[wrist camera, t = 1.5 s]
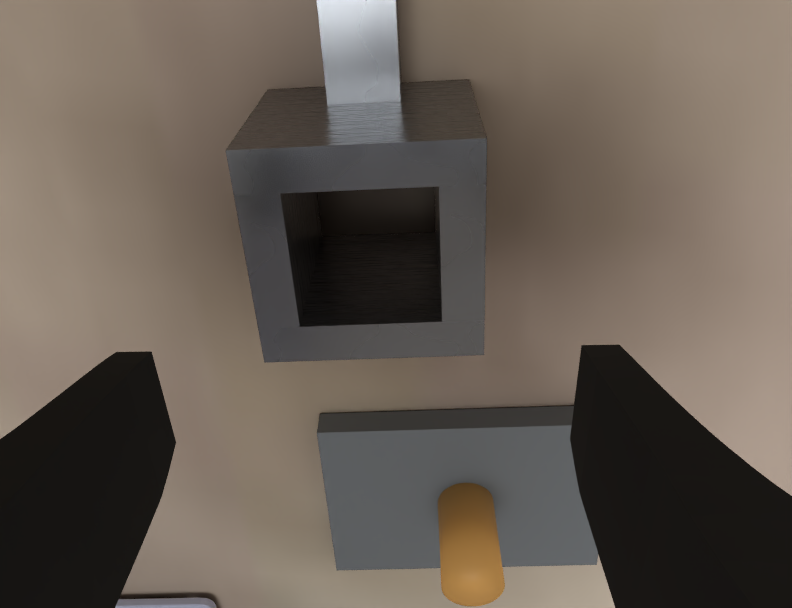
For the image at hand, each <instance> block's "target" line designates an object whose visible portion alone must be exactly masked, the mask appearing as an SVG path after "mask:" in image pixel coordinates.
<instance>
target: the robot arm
mask: <svg viewBox="0 0 792 608" xmlns="http://www.w3.org/2000/svg"><path fill="white" fill-rule="evenodd" d="M570 442H571V448H572V454H573V460H574V466H575V471H576V477H577V482H578V487H579V493H580V496H581V499H582V503H583V506H584V509H585V512H586V516H587V519H588V522H589V525H590V529H591V532H592V535H593V538H594V541H595V545H596V548H597V551H598V554H599V557H600V560H601V563H602V567H603V570H604V573H605V576H606V579H607V582H608V586H609V589H610V592H611V595H612V598H613V601H614V605H615V608H792V496H791V495H789V494H788V493H786V492H785V491H784V490H782V489H781V488H779V487H778V486H777V485H775V484H774V483H772V482H771V481H770V480H768V479H767V478H766V477H764V476H763V475H762V474H760V473H759V472H758V471H757V470H755V469H754V468H753V467H751V466H750V465H749V464H748V463H747V462H745V461H744V460H743V459H742V458H740V457H739V456H738V455H737V454H736V453H734V452H733V451H732V450H731V449H729V448H728V447H727V446H726V445H725V444H723V443H722V442H721V441H720V440H719V439H717V438H716V437H715V436H714V435H713V434H712V433H711V432H709V431H708V430H707V429H706V428H705V427H704V426H703V425H702V424H700V423H699V422H698V421H697V420H696V419H695V418H694V417H693V416H692V415H691V414H689V413H688V412H687V411H686V410H685V409H684V408H683V407H682V406H681V405H680V404H679V403H678V402H677V401H676V400H675V399H674V398H672V397H671V396H670V395H669V394H668V393H667V392H666V391H665V390H664V389H663V388H662V387H661V386H660V385H659V384H658V383H657V382H656V381H655V380H654V379H653V378H652V377H651V376H650V375H649V374H648V373H647V372H646V371H645V370H644V369H643V368H642V367H641V366H640V365H639V364H638V363H637V362H636V361H635V360H634V359H633V358H632V357H631V356H630V355H629V354H628V353H627V352H626V351H625V350H624V349H623V348H622V347H621V346H620V345H582V347H581V355H580V363H579V371H578V379H577V387H576V395H575V402H574V410H573V418H572V426H571V434H570ZM175 444H176V441H175V437H174V433H173V430H172V426H171V422H170V418H169V415H168V411H167V407H166V404H165V400H164V396H163V392H162V389H161V385H160V381H159V378H158V374H157V370H156V367H155V363H154V359H153V355H152V352H116V353H114V354H113V355H111V356H110V357H108V358H107V359H105V360H104V361H103V362H101V363H100V364H99V365H97V366H96V367H95V368H93V369H92V370H91V371H89V372H88V373H87V374H85V375H84V376H83V377H82V378H80V379H79V380H78V381H76V382H75V383H74V384H73V385H71V386H70V387H69V388H68V389H66V390H65V391H64V392H62V393H61V394H60V395H59V396H57V397H56V398H55V399H53V400H52V401H51V402H49V403H48V404H47V405H46V406H44V407H43V408H42V409H40V410H39V411H38V412H36V413H35V414H34V415H33V416H31V417H30V418H29V419H27V420H26V421H25V422H23V423H22V424H21V425H19V426H18V427H17V428H15V429H14V430H13V431H11V432H10V433H8V434H7V435H6V436H4V437H3V438H1V439H0V608H217V607H216V605H215V603H214V602H213V601H212V600H211V599H208V598H155V599H119V597H120V595H121V593H122V590H123V588H124V585H125V583H126V581H127V578H128V576H129V574H130V571H131V569H132V567H133V564H134V562H135V559H136V557H137V555H138V552H139V550H140V548H141V545H142V543H143V541H144V538H145V536H146V533H147V531H148V529H149V526H150V524H151V521H152V519H153V516H154V514H155V512H156V509H157V507H158V504H159V502H160V499H161V497H162V494H163V490H164V486H165V483H166V479H167V476H168V472H169V468H170V464H171V460H172V456H173V452H174V448H175Z"/></svg>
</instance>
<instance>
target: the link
mask: <svg viewBox="0 0 792 608" xmlns="http://www.w3.org/2000/svg"><path fill="white" fill-rule="evenodd" d="M317 8H318V18H319V28H320V37H321V47H322V57H323V66H324V76H325V86H326V87H312V88H292V89H272V90H267V91H266V93H265V94H264V96H263V97H262V98H261V100H260V101H259V103H258V104H257V106H256V107H255V109H254V110H253V111H252V113H251V114H250V116H249V117H248V119H247V120H246V122H245V123H244V125H243V126H242V127H241V129H240V130H239V132H238V133H237V135H236V136H235V138H234V139H233V141H232V142H231V143H230V145H229V146H228V148H227V149H226V155H227V160H228V166H229V171H230V177H231V182H232V188H233V193H234V198H235V204H236V209H237V215H238V220H239V226H240V231H241V237H242V242H243V248H244V253H245V259H246V264H247V270H248V275H249V280H250V286H251V291H252V297H253V302H254V308H255V313H256V319H257V324H258V330H259V335H260V341H261V346H262V352H263V357H264V362H291V361H320V360H350V359H379V358H408V357H438V356H467V355H484V316H485V242H486V168H487V137H486V134H485V130H484V127H483V124H482V120H481V117H480V114H479V111H478V107H477V104H476V101H475V97H474V94H473V91H472V88H471V84H470V81H469V80H451V81H431V82H411V83H401V65H400V44H399V24H398V3H397V0H317ZM417 187H434V197H435V232H423V233H398V234H374V235H350V236H326V237H322V232H321V224H320V215H319V207H318V198H317V192H326V191H349V190H371V189H394V188H417Z"/></svg>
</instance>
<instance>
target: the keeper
mask: <svg viewBox="0 0 792 608" xmlns="http://www.w3.org/2000/svg"><path fill="white" fill-rule="evenodd" d="M573 410H574V406H554V407H521V408H489V409H456V410H424V411H391V412H359V413H327V414H320V417H319V423H318V429H317V437H318V444H319V451H320V458H321V465H322V472H323V479H324V485H325V492H326V499H327V506H328V513H329V520H330V527H331V534H332V541H333V547H334V554H335V561H336V568H337V570H372V569H418V568H441V587H442V591H443V593H444V595H445V596H446V597H447V598H448V599H449V600H450V601H452V602H454V603H456V604H459V605H464V606H481V605H485V604H488V603H490V602H492V601H494V600H496V599H497V598H498V597H499V596H500V595H501V594H502V592H503V591H504V587H505V583H504V576H503V568H502V567H511V566H558V565H597V558H598V551H597V548H596V545H595V541H594V538H593V535H592V532H591V529H590V525H589V522H588V519H587V516H586V512H585V509H584V506H583V503H582V499H581V496H580V493H579V487H578V482H577V477H576V471H575V466H574V460H573V454H572V448H571V442H570V434H571V426H572V418H573Z"/></svg>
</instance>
